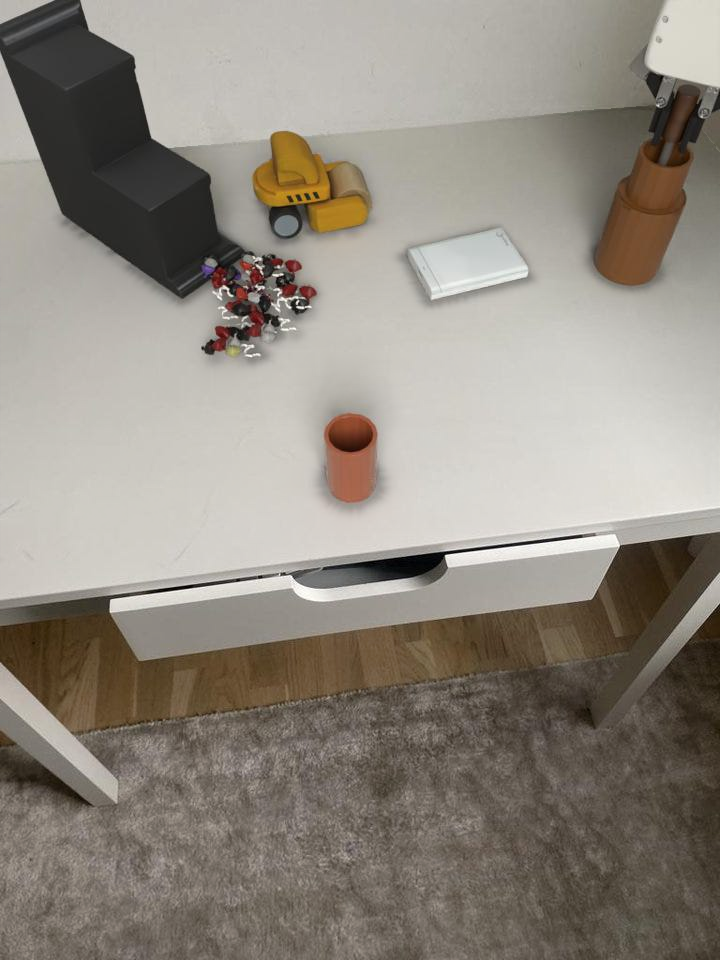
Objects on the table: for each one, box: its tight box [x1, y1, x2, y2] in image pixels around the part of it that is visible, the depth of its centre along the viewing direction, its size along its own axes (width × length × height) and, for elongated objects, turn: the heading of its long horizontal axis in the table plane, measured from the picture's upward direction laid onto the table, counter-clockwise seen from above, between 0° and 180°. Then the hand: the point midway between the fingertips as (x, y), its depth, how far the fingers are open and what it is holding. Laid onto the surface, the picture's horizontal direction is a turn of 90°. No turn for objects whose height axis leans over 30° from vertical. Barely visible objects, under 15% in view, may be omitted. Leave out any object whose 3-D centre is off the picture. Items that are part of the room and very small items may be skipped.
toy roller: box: [252, 130, 373, 240], centre depth 94 cm, size 9×14×10 cm, turn 103°
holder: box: [323, 412, 378, 504], centre depth 72 cm, size 5×5×8 cm
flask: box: [593, 137, 695, 286], centre depth 87 cm, size 8×8×15 cm
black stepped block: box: [0, 0, 246, 299], centre depth 86 cm, size 23×11×24 cm, turn 49°
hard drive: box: [406, 227, 530, 301], centre depth 92 cm, size 2×8×12 cm
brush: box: [657, 83, 702, 166], centre depth 83 cm, size 3×3×20 cm
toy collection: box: [200, 250, 318, 358], centre depth 87 cm, size 15×14×5 cm
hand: (670, 141), depth 80 cm, fingers closed on brush, 2 cm apart
